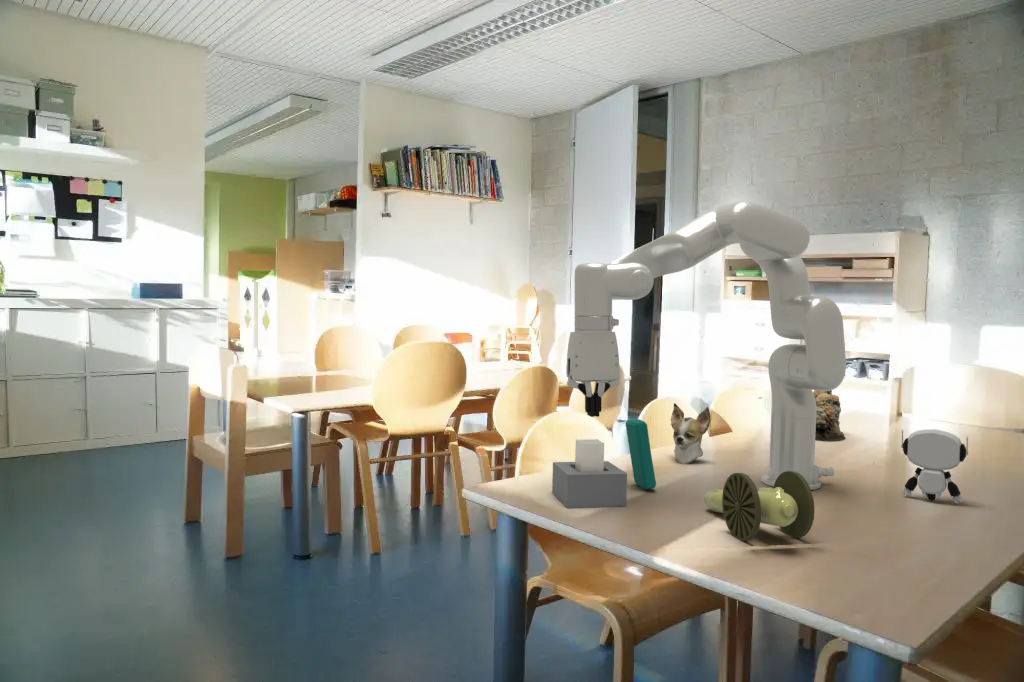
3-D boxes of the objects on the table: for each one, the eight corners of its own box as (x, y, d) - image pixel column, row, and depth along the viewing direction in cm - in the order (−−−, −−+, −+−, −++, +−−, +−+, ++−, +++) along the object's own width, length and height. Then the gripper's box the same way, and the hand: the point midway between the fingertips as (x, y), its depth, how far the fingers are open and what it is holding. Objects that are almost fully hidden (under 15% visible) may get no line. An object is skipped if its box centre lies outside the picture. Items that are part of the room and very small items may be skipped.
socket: (607, 491, 160) (607, 461, 160) (626, 506, 148) (627, 473, 148) (552, 492, 158) (552, 462, 157) (567, 508, 146) (567, 474, 146)
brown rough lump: (841, 448, 218) (843, 389, 217) (798, 443, 225) (800, 386, 224) (851, 440, 233) (853, 385, 233) (811, 435, 240) (813, 382, 239)
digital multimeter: (646, 492, 159) (659, 489, 160) (635, 422, 159) (648, 420, 160) (634, 486, 167) (646, 483, 167) (623, 420, 166) (636, 417, 167)
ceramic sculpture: (658, 463, 190) (660, 404, 190) (675, 459, 197) (677, 401, 196) (697, 470, 183) (699, 409, 183) (713, 465, 190) (715, 406, 189)
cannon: (684, 511, 146) (686, 453, 146) (739, 508, 149) (741, 451, 149) (756, 552, 122) (759, 482, 122) (820, 548, 125) (823, 480, 125)
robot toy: (966, 502, 157) (970, 431, 157) (964, 507, 154) (968, 434, 153) (901, 493, 164) (904, 424, 164) (897, 497, 161) (900, 427, 160)
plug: (595, 487, 156) (597, 439, 155) (602, 492, 151) (604, 443, 151) (574, 487, 155) (575, 439, 154) (580, 493, 150) (582, 443, 150)
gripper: (622, 324, 157) (622, 411, 158) (552, 324, 154) (552, 414, 155) (635, 325, 149) (634, 417, 150) (561, 326, 146) (562, 420, 147)
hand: (593, 415), depth 152 cm, fingers closed
